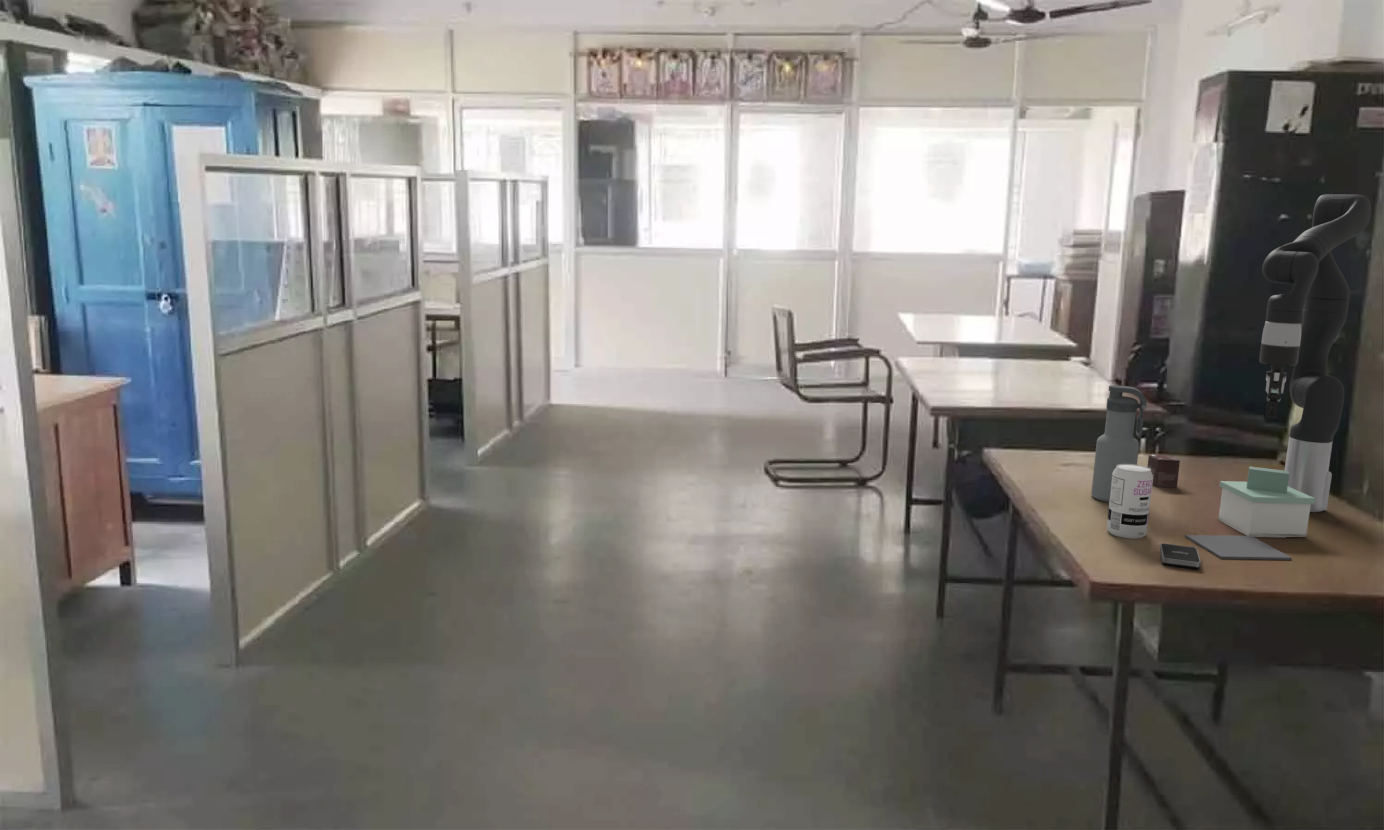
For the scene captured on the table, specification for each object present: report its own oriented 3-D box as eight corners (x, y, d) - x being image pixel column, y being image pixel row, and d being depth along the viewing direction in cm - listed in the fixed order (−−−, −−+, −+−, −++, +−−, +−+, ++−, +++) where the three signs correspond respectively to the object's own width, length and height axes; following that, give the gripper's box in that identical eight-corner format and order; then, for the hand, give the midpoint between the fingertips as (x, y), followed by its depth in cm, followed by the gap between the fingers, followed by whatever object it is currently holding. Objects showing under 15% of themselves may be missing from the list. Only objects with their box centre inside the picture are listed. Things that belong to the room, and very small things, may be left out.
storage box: (1272, 521, 254) (1277, 487, 252) (1305, 537, 241) (1310, 502, 240) (1218, 520, 253) (1222, 486, 252) (1248, 536, 240) (1253, 501, 239)
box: (1177, 487, 283) (1180, 460, 282) (1154, 486, 283) (1157, 459, 282) (1168, 481, 289) (1171, 454, 288) (1145, 481, 289) (1148, 454, 288)
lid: (1277, 491, 253) (1281, 463, 252) (1313, 507, 239) (1318, 478, 238) (1218, 490, 252) (1222, 462, 251) (1252, 506, 239) (1256, 477, 237)
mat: (1251, 538, 239) (1251, 535, 239) (1291, 559, 225) (1291, 557, 225) (1184, 536, 239) (1185, 534, 239) (1220, 558, 224) (1220, 556, 224)
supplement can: (1113, 526, 245) (1120, 461, 242) (1151, 534, 240) (1159, 467, 237) (1100, 533, 239) (1108, 467, 236) (1139, 541, 234) (1147, 474, 231)
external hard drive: (1195, 556, 226) (1196, 547, 226) (1199, 572, 216) (1200, 563, 215) (1159, 552, 228) (1160, 542, 228) (1161, 567, 218) (1163, 558, 218)
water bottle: (1132, 495, 273) (1144, 385, 268) (1136, 505, 264) (1149, 391, 258) (1089, 491, 275) (1100, 382, 270) (1092, 501, 266) (1104, 388, 261)
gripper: (1300, 347, 232) (1290, 422, 235) (1299, 341, 244) (1290, 412, 247) (1261, 344, 235) (1251, 418, 238) (1261, 338, 248) (1253, 409, 250)
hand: (1271, 415), depth 243 cm, fingers open, 8 cm apart
